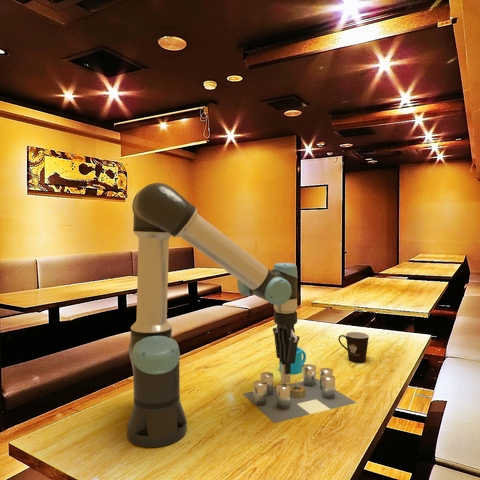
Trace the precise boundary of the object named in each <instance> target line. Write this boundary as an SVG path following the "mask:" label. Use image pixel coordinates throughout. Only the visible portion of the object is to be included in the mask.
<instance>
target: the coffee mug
mask: <svg viewBox="0 0 480 480" xmlns="http://www.w3.org/2000/svg"><path fill="white" fill-rule="evenodd" d="M342 337H343V338H345V340H346V346H347V347H346V346H345V345H344V344H343V343H342V341H341V338H342ZM369 337H370V335H369V334H367V333H365V332H359V331H357V332H356V331H351V332H346V333H345V335H344V334H342V335H339V336H338V339H337V340H338V342H339V344H340V345H341V346H342V347H343V348H344V349H345V350H346V351H347V356H348V357H347V358H348V361H349V362H350V363H355V364H364V363H366V360H367V353H368V352H367V351H368V346H369Z"/></svg>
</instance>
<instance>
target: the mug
mask: <svg viewBox="0 0 480 480" xmlns="http://www.w3.org/2000/svg"><path fill="white" fill-rule="evenodd" d="M306 359H307V354H306V351H305V350H303V349H302V348H301V347H298V346H297V351H296V358H295V363H293V364H291V373H290V375H298V374H300V373H302V372H303V366H304V365H305V362H306ZM278 368H279V369H278V370H279V371H280V373H281V362H280V360H279V366H278Z"/></svg>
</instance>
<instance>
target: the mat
mask: <svg viewBox="0 0 480 480" xmlns="http://www.w3.org/2000/svg"><path fill="white" fill-rule="evenodd" d="M287 384H288V385H290V387H291V386H294V385H297V386H303V387H304V388H305V396H304V397H302V398H294V397H291V395H290V408H289V409H287V410H280V409H278V408H277V407H276V386H273V395H271V396H267V404H266V405H264V406H257V405H254V403H253V391H248V392H244V393H242V395H243V396H244V397H245V398H247V399H248V400H249V401H250V403H252V404H253V405H254V406H255V407H256V408H257V409H258V410H259V411H261V412H262V414H264V416H266V418H268V419H269V420H270V421H271V422H272V423H274V424H278V423H280V422H283V421H284V422H285V421H289V420H293V419H297V418H301V417H305V416H309V415H313V414H316V413H317V414H318V413H321V412H325V411H329V410H333V409H338V408H341V407H345V406H349V405H355V404H357V401H355V400H353V399H351V398H350V397H348V396H347V395H345V394H343V393H342V392H340V391H338V390H337V389H335V398H334V399H325V398H323V397H322V390H321V389H320V379H318V378H316V385H315V386H313V387H307V386H305V385H304V384H303V381H299V382H293V383H287Z"/></svg>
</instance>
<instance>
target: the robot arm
mask: <svg viewBox="0 0 480 480" xmlns="http://www.w3.org/2000/svg"><path fill="white" fill-rule="evenodd" d="M131 208H132V209H131V210H132V212H133V213H132V214H133V223H132V224H133V229H132V232H133V234H134V235H135V236H136V237H137V238H138V244H137V245H138V246H137V247H138V251H137V283H136V284H137V290H136V292H137V293H136V321H135V322H134V323H133V324H132V325H131V326H130V341H129V346H128V355H129V359H130V363H131V368H132V373H133V374H132V376H133V377H132V379H133V381H132V382H133V406H132V409H131V413H130V416H129V420H128V422H127V426H126V435H127V439H128V441H129V442H130V443H131V444H132V445H135V446H138V447H142V448H159V447H164V446H169V445H173V444H174V443H175V442H177V441H180V440H181V439H182V438H183V437H184V436H185V435H186V433H187V430H188V429H187V428H188V424H187V423H188V420H187V417H186V414H185V411H184V408H183V405H182V403H181V402H182V401H181V397H180V396H181V394H180V392H181V389H180V385H181V384H180V383H181V380H180V377H181V376H180V374H181V373H180V360H181V359H180V358H181V353H180V346H179V344H178V342H177V340H175V338H172V334H173V333H172V332H173V331H172V329H173V326H172V324H171V323H170V322H168V314H167V313H168V292H169V291H168V289H169V288H168V287H169V286H168V285H169V253H170V252H169V250H170V238H171V237H174V238H178V237H179V238H181V239H182V240H184V241H185V242H187V243H188V244H189V245H190V246H191V247H193V248H195V249H196V250H197V251H199V252H200V253H201V254H203V255H204V256H206V257H207V258H208V259H210V260H211V261H212V262H214V263H215V264H216V265H217V266H219V267H220V268H222V269H224V270H225V271H226V272H227V273H229V274H230V275H231V276H232V277H234V278H235V279H236V280H237V282H236V283H237V291H238V293H239V294H240V295H241V296H243V297H244V296H248V297H250V296H256V297H258V298H260V299H262V300H264V301H267V302H268V303H270V304H271V305H273V309H274V312H273V322H274V323H275V324H276V327H273V328H272V332H273V337H274V344H275V353H276V358H277V359H279V360H280V362H281V372H280V384H291V374H290V373H291V364H293V363H295V358H296V351H297V347H298V344H299V341H300V336H299V335H297V334H295V332H296V330H295V325H296V324H297V323H298V312H297V311H298V278H299V277H298V267H297V265H296V264H295V263H291V262H277V263H275V264H273V269H269V268H268V267H267V266H265V265H264V264H263V263H261V262H260V261H259V260H258V259H256V258H255V257H254V256H253V255H251V254H250V253H249V252H248V251H246V250H245V249H244V248H243V247H241V246H240V245H238V244H237V243H236V242H235V241H233V240H232V239H231V238H229V237H228V236H227V235H226V234H224V233H223V232H221V231H220V230H219V229H218V228H217V227H215V226H214V225H213V224H211V223H210V222H209V221H208V220H206V219H205V218H204V217H203V216H201V215H200V214H199V213H198V208H197V207H196V206H194V204H192V203H191V202H190V201H188V199H186V198H185V197H184V195H182V194H181V193H179V192H178V191H177V190H176V189H175V188H173V187H172V186H170V185H168V184H167V183H163V182H153V183H150V184H147V185H146V186H144V187H143V188H141V189H140V190H139V191H138V192H137V193H136V194H135V196H134V197H133V200H132V207H131Z"/></svg>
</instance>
